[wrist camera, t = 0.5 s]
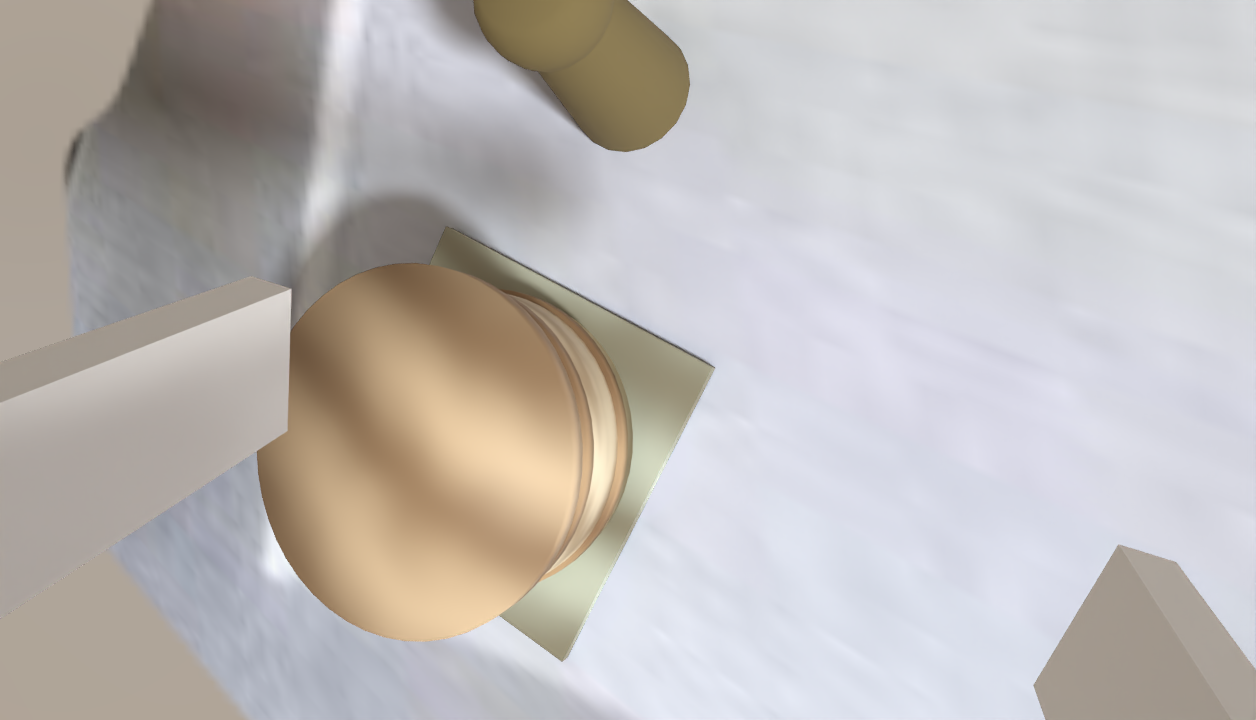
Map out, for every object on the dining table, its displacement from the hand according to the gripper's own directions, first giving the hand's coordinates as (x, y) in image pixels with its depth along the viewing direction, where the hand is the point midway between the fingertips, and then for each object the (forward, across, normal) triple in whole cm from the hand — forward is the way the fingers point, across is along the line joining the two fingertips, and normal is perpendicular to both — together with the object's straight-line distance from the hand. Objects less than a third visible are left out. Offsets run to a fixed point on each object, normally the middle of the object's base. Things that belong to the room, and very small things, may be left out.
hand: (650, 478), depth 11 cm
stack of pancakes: (+21, -9, -13) cm, 27 cm away
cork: (+27, -8, +4) cm, 28 cm away
